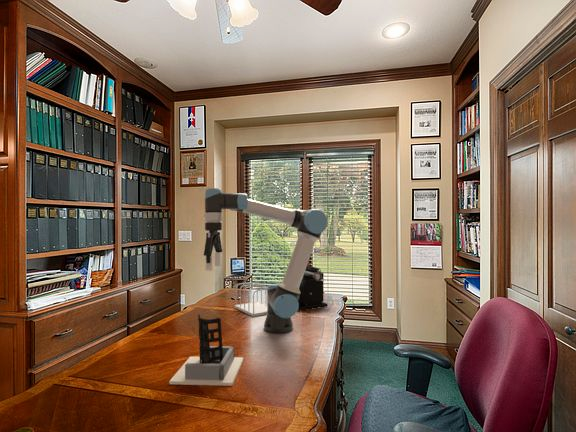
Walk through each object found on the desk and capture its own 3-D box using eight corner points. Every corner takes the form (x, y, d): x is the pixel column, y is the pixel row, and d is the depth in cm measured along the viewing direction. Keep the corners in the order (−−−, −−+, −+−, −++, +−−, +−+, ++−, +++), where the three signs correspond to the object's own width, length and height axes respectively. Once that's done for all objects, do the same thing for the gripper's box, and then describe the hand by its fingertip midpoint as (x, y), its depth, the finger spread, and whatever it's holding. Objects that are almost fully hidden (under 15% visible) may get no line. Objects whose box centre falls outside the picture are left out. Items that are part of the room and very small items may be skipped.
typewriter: (270, 301, 222) (269, 265, 222) (303, 296, 234) (303, 263, 235) (291, 312, 194) (290, 271, 195) (327, 306, 207) (327, 268, 207)
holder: (229, 363, 122) (225, 313, 120) (219, 374, 115) (216, 321, 113) (203, 360, 125) (200, 311, 123) (192, 371, 118) (189, 319, 116)
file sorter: (278, 312, 195) (277, 287, 195) (253, 317, 185) (253, 290, 185) (257, 303, 215) (257, 281, 215) (234, 308, 205) (234, 284, 205)
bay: (243, 359, 128) (243, 345, 128) (232, 385, 108) (232, 368, 108) (190, 358, 129) (190, 344, 129) (169, 384, 109) (169, 366, 109)
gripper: (213, 221, 159) (213, 264, 158) (196, 222, 134) (196, 272, 133) (228, 221, 158) (228, 264, 158) (213, 222, 133) (213, 272, 133)
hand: (213, 268), depth 146 cm, fingers open, 13 cm apart
